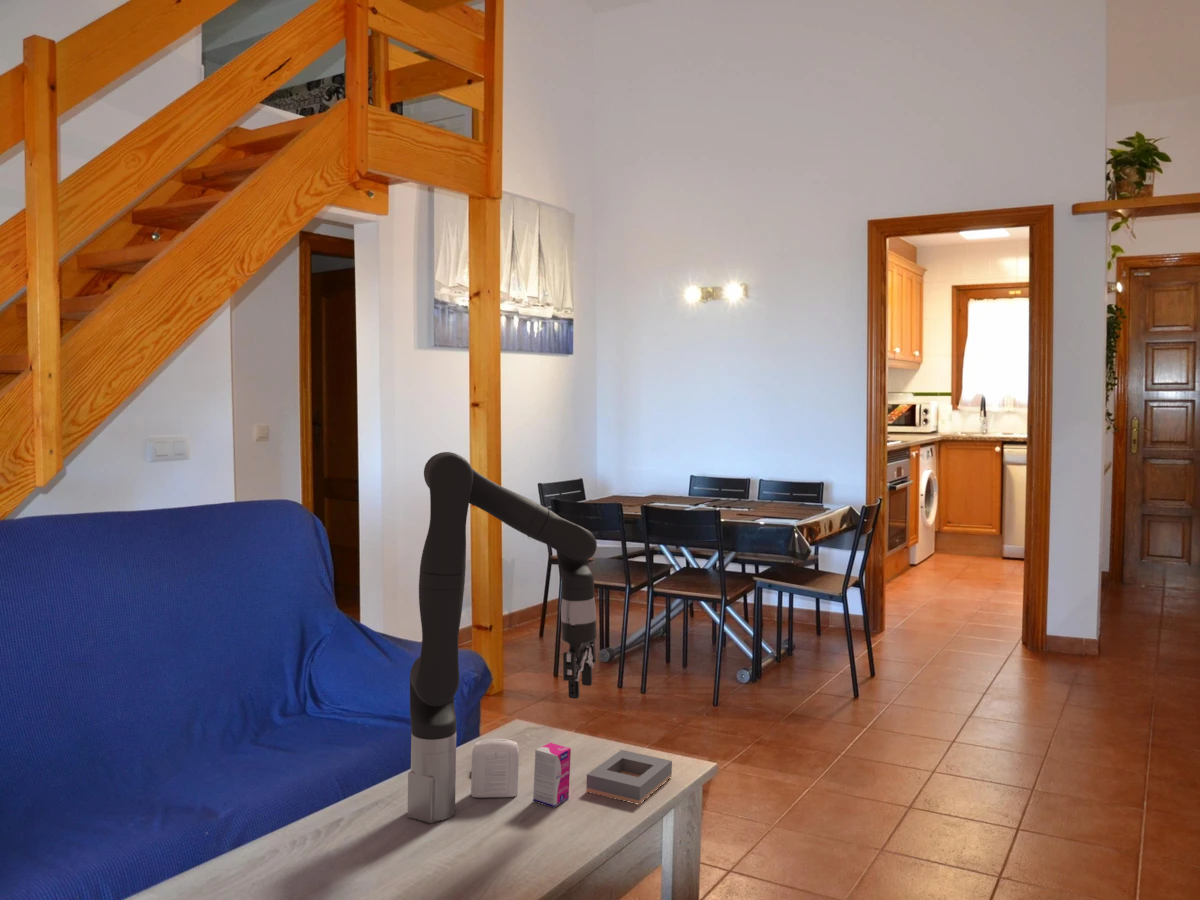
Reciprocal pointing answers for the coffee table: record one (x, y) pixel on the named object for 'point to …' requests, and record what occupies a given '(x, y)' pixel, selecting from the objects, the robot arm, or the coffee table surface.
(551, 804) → the supplement box
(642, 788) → the plate
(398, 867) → the coffee table surface
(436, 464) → the robot arm
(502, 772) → the photo printer
